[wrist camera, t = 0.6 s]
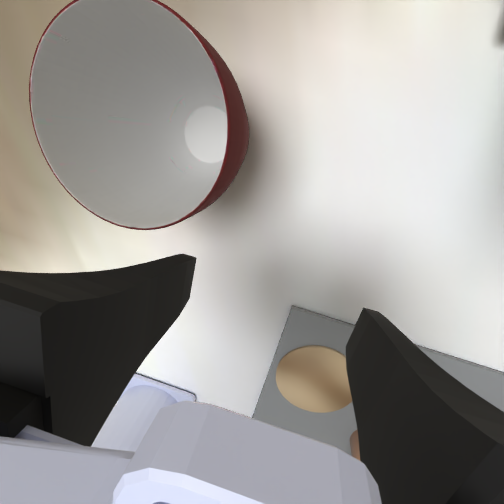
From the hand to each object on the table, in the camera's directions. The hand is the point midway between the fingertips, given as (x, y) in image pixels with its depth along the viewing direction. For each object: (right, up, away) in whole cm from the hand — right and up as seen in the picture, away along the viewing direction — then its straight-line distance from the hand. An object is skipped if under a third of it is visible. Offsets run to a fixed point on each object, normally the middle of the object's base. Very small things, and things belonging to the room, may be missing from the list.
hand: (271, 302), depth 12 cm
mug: (-5, +10, +8) cm, 14 cm away
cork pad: (+5, -9, +13) cm, 16 cm away
